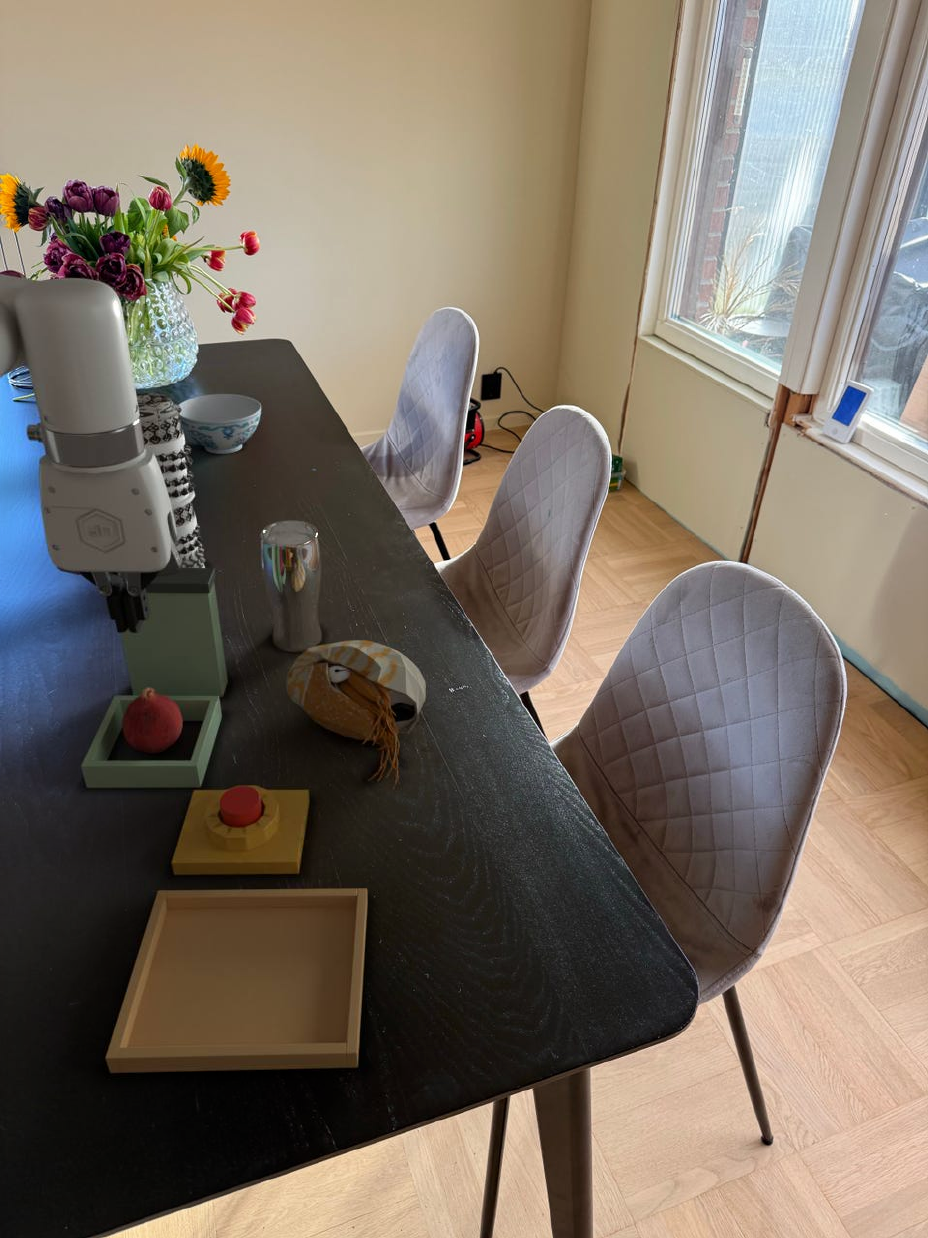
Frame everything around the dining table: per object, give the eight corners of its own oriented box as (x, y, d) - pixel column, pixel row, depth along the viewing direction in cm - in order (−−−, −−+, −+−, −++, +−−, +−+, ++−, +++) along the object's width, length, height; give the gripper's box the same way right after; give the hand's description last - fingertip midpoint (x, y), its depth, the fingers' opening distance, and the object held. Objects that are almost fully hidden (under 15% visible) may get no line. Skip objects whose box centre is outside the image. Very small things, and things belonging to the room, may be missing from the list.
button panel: (174, 875, 76) (168, 848, 74) (196, 802, 84) (191, 776, 82) (298, 874, 77) (296, 847, 75) (309, 802, 84) (307, 776, 82)
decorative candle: (136, 592, 115) (101, 413, 102) (143, 559, 123) (111, 388, 109) (206, 587, 117) (181, 411, 104) (209, 555, 125) (185, 386, 111)
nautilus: (450, 794, 87) (301, 819, 84) (413, 661, 103) (287, 679, 101) (450, 738, 82) (291, 763, 79) (410, 608, 98) (279, 625, 96)
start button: (218, 828, 77) (215, 814, 76) (225, 799, 80) (223, 785, 79) (258, 828, 77) (256, 814, 76) (264, 799, 80) (263, 785, 79)
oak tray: (110, 1074, 61) (105, 1058, 60) (161, 905, 73) (157, 890, 72) (357, 1068, 62) (356, 1053, 61) (367, 903, 74) (367, 888, 73)
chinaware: (167, 444, 159) (160, 404, 155) (238, 427, 168) (234, 388, 164) (207, 469, 150) (201, 427, 146) (280, 450, 159) (277, 410, 155)
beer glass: (324, 622, 111) (318, 518, 103) (326, 652, 105) (320, 545, 97) (269, 625, 110) (259, 520, 102) (268, 656, 104) (257, 548, 96)
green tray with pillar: (86, 788, 84) (52, 664, 76) (136, 680, 99) (112, 566, 91) (200, 788, 85) (179, 665, 77) (233, 680, 100) (218, 567, 92)
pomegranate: (181, 769, 87) (169, 708, 83) (122, 770, 87) (108, 709, 82) (191, 732, 92) (181, 672, 88) (136, 733, 92) (123, 673, 87)
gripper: (-18, 454, 67) (35, 646, 77) (177, 460, 68) (204, 648, 78) (20, 421, 73) (64, 602, 83) (197, 426, 74) (220, 605, 84)
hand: (132, 624), depth 81 cm, fingers closed
